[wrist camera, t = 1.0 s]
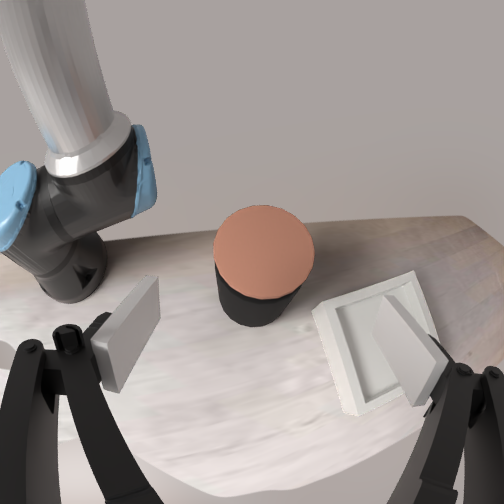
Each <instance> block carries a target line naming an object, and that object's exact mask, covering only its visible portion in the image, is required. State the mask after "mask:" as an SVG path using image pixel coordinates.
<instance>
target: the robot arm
mask: <svg viewBox="0 0 504 504" xmlns="http://www.w3.org/2000/svg"><path fill="white" fill-rule="evenodd" d="M0 36H1V39H2V42H3V45H4V48H5V51H6V54H7V57H8V59H9V62H10V65H11V67H12V70H13V72H14V75H15V77H16V80H17V82H18V85H19V87H20V89H21V92H22V94H23V96H24V98H25V101H26V103H27V105H28V107H29V110H30V112H31V114H32V115H33V118H34V120H35V122H36V124H37V126H38V128H39V130H40V132H41V134H42V136H43V138H44V140H45V142H46V143H47V145H48V150H47V153H46V156H45V165H44V166H42V167H40V168H38V169H36V167H35V166H34V164H32V163H30V162H29V161H19V162H16V163H15V164H13V165H11V166H10V167H9V168H7V169H6V170H5V171H4V172H3V173H2V174H1V176H0V252H1V253H2V254H4V255H5V256H7V257H8V258H9V259H11V260H12V261H14V262H15V263H17V264H18V265H20V266H21V267H23V268H24V269H26V270H27V271H29V272H30V273H32V274H33V275H34V277H35V278H36V280H37V281H38V283H39V285H40V286H41V288H42V290H43V291H44V292H45V293H46V294H47V295H48V296H49V297H51V298H53V299H54V300H56V301H58V302H61V303H66V304H71V303H76V302H79V301H81V300H83V299H85V298H86V297H88V296H89V295H90V294H91V293H92V292H93V291H94V290H95V289H96V288H97V286H98V285H99V283H100V281H101V279H102V277H103V275H104V272H105V269H106V263H107V252H106V247H105V244H104V242H103V240H102V239H101V238H100V236H99V235H98V234H97V231H99V230H101V229H104V228H106V227H109V226H111V225H114V224H116V223H119V222H122V221H124V220H127V219H129V218H133V217H134V216H135V215H137V214H139V213H141V212H143V211H145V210H147V209H150V208H151V207H152V206H153V205H154V204H155V202H156V199H157V188H156V180H155V174H154V168H153V164H152V161H151V154H150V148H149V143H148V139H147V136H146V132H145V130H144V127H143V126H142V125H132V126H131V123H130V120H129V118H128V117H127V116H126V115H125V114H123V113H121V112H118V111H114V110H113V108H112V105H111V102H110V98H109V95H108V92H107V88H106V85H105V82H104V79H103V75H102V71H101V68H100V64H99V60H98V57H97V53H96V49H95V45H94V40H93V36H92V32H91V28H90V24H89V19H88V14H87V9H86V5H85V0H0ZM159 320H160V302H159V282H158V277H157V276H149V275H146V276H145V277H144V278H143V279H142V280H141V281H140V282H139V283H138V285H137V286H136V287H135V288H134V289H133V290H132V291H131V292H130V294H129V295H128V296H127V297H126V298H125V299H124V300H123V302H122V303H121V304H120V305H119V306H118V307H117V308H116V310H115V311H114V312H113V313H109V312H105V313H103V314H101V315H99V316H98V317H97V318H96V319H95V320H94V321H93V323H92V324H91V325H90V326H89V328H87V329H86V330H85V331H84V333H83V334H82V330H81V328H80V327H79V326H77V325H73V324H66V325H62V326H59V327H58V328H56V329H55V330H54V331H53V335H52V336H53V340H54V343H55V346H56V349H57V350H45V349H44V347H43V344H42V343H41V341H39V340H36V339H30V340H26V341H24V342H22V343H21V344H20V345H19V347H18V349H17V351H16V354H15V357H14V360H13V364H12V367H11V370H10V373H9V377H8V380H7V384H6V388H5V391H4V395H3V399H2V404H1V408H0V504H61V497H60V487H59V474H58V449H57V447H58V408H59V395H67V398H68V402H69V406H70V409H71V413H72V416H73V419H74V423H75V426H76V429H77V432H78V435H79V438H80V441H81V443H82V446H83V449H84V452H85V454H86V457H87V459H88V462H89V464H90V467H91V469H92V471H93V474H94V476H95V478H96V481H97V483H98V485H99V487H100V489H101V491H102V493H103V495H104V498H105V503H106V504H164V503H163V502H162V500H161V499H160V497H159V496H158V495H157V493H156V491H155V490H154V489H153V488H152V487H151V485H150V484H149V482H148V481H147V479H146V478H145V476H144V474H143V473H142V471H141V469H140V468H139V466H138V464H137V462H136V461H135V459H134V457H133V455H132V454H131V452H130V450H129V448H128V446H127V444H126V442H125V440H124V438H123V436H122V434H121V432H120V430H119V428H118V426H117V424H116V422H115V420H114V418H113V416H112V413H111V411H110V409H109V407H108V404H107V402H106V400H105V397H104V395H103V393H102V390H101V388H100V385H99V383H100V382H101V381H102V384H103V388H104V390H108V391H111V392H115V393H120V391H121V389H122V388H123V386H124V384H125V382H126V380H127V378H128V376H129V374H130V373H131V371H132V369H133V367H134V365H135V363H136V361H137V360H138V358H139V356H140V354H141V352H142V350H143V349H144V347H145V345H146V343H147V341H148V340H149V338H150V336H151V334H152V332H153V331H154V329H155V327H156V325H157V324H158V322H159ZM372 335H373V337H374V339H375V341H376V342H377V344H378V346H379V347H380V349H381V351H382V353H383V354H384V356H385V358H386V360H387V361H388V363H389V365H390V367H391V369H392V370H393V372H394V374H395V376H396V378H397V380H398V381H399V383H400V385H401V387H402V389H403V391H404V392H405V394H406V396H407V398H408V400H409V402H410V404H411V406H412V407H416V406H421V405H425V403H426V402H427V400H428V398H429V397H430V396H431V398H432V400H433V402H432V403H431V405H430V407H429V408H428V410H427V411H426V413H425V414H424V416H423V417H426V419H425V421H424V424H423V427H422V430H421V432H420V435H419V437H418V440H417V443H416V445H415V447H414V450H413V452H412V454H411V456H410V459H409V461H408V463H407V465H406V468H405V470H404V472H403V474H402V476H401V478H400V480H399V482H398V484H397V486H396V488H395V490H394V491H393V493H392V495H391V497H390V499H389V500H388V502H387V504H455V503H456V500H457V496H458V492H457V490H453V485H454V482H455V479H456V475H457V472H458V468H459V465H460V461H461V457H462V452H463V448H464V457H465V480H464V501H463V504H504V374H503V373H502V371H501V370H500V369H499V368H497V367H493V366H488V367H486V368H485V370H484V372H483V373H482V374H475V373H474V372H473V370H472V369H471V368H470V367H469V366H468V365H466V364H463V363H455V362H454V360H453V359H452V358H451V357H450V355H449V354H448V353H447V352H446V350H444V348H443V347H442V346H441V344H440V343H439V342H438V341H437V340H436V339H435V338H434V337H432V336H431V335H429V334H427V333H426V332H425V331H424V329H423V328H422V327H421V326H420V325H419V324H418V322H417V321H416V320H415V319H414V318H413V317H412V315H411V314H410V313H409V312H408V311H407V310H406V309H405V307H404V306H403V305H402V304H401V303H400V302H399V301H398V300H397V298H396V297H395V296H394V295H383V298H382V301H381V305H380V308H379V311H378V315H377V318H376V321H375V325H374V328H373V331H372ZM426 415H427V416H426Z"/></svg>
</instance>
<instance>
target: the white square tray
mask: <svg viewBox="0 0 504 504" xmlns="http://www.w3.org/2000/svg"><path fill="white" fill-rule="evenodd" d="M383 295H394V296H395V297H396V298H397V300H398V301H399V302H400V303H401V304H402V305H403V306H404V307H405V309H406V310H407V311H408V312H409V313H410V314H411V315H412V317H413V318H414V319H415V320H416V321H417V322H418V324H419V325H420V326H421V327H422V328H423V329H424V331H425V332H426V333H427V334H429V335H431V336H432V337H434V338H435V339H436V340H437V341H438V342H439V343H440V341H439V338H438V335H437V331H436V328H435V325H434V322H433V319H432V317H431V314H430V311H429V308H428V305H427V303H426V300H425V297H424V295H423V292H422V289H421V287H420V284H419V282H418V279H417V277H416V275H415V272H414V270H413V271H411V272H408V273H405V274H403V275H400V276H397V277H394V278H392V279H389V280H386V281H383V282H380V283H377V284H374V285H372V286H369V287H366V288H363V289H360V290H357V291H354V292H351V293H348V294H344V295H341V296H338V297H335V298H332V299H329V300H325V301H322V302H321V303H320V304H319V305H318V306H317V307H316V308H314V309H313V310H312V314H313V317H314V320H315V323H316V326H317V329H318V332H319V335H320V338H321V342H322V345H323V348H324V351H325V354H326V357H327V360H328V363H329V367H330V370H331V373H332V376H333V380H334V383H335V386H336V389H337V393H338V396H339V399H340V403H341V406H342V410H343V413H346V414H350V415H354V416H358V417H360V416H362V415H364V414H366V413H368V412H370V411H372V410H374V409H376V408H378V407H380V406H382V405H384V404H386V403H388V402H390V401H392V400H394V399H396V398H397V397H399V396H401V395H403V394H405V392H404V391H403V389H402V387H401V385H400V383H399V381H398V380H397V378H396V376H395V374H394V372H393V370H392V369H391V367H390V365H389V363H388V361H387V360H386V358H385V356H384V354H383V353H382V351H381V349H380V347H379V346H378V344H377V342H376V341H375V339H374V337H373V335H372V331H373V328H374V325H375V321H376V318H377V315H378V311H379V308H380V305H381V301H382V298H383Z"/></svg>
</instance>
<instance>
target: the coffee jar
mask: <svg viewBox="0 0 504 504" xmlns="http://www.w3.org/2000/svg"><path fill="white" fill-rule="evenodd" d="M213 246H214V260H215V271H216V278H217V285H218V292H219V299H220V302H221V305H222V308H223V310H224V311H225V313H226V314H227V315H228V316H229V317H230V319H232V320H234V321H235V322H237V323H238V324H240V325H244V326H248V327H260V326H264V325H266V324H269V323H271V322H273V321H274V320H275V319H276V318H277V317H278V316H280V314H281V313H282V312H283V310H284V309H285V308H286V306H287V305H288V304H289V302H290V301H291V300H292V298H293V297H294V296H295V294H296V293H297V292H298V290H299V289H300V287H301V286H302V284H303V282H304V281H305V280H306V279H307V277H308V275H309V273H310V271H311V270H312V268H313V262H314V255H315V252H314V246H313V241H312V238H311V236H310V234H309V232H308V230H307V228H306V227H305V225H304V224H303V223H302V222H301V221H300V220H298V219H297V218H296V217H295V216H294V215H292V214H291V213H288V212H287V211H285V210H283V209H280V208H277V207H273V206H268V205H260V206H250V207H247V208H244V209H241V210H238V211H237V212H235V213H234V214H232V215H231V216H229V217H228V218H227V219H226V220H225V221H224V223H223V224H222V225H221V227H220V228H219V229H218V231H217V234H216V237H215V240H214V243H213Z"/></svg>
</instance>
